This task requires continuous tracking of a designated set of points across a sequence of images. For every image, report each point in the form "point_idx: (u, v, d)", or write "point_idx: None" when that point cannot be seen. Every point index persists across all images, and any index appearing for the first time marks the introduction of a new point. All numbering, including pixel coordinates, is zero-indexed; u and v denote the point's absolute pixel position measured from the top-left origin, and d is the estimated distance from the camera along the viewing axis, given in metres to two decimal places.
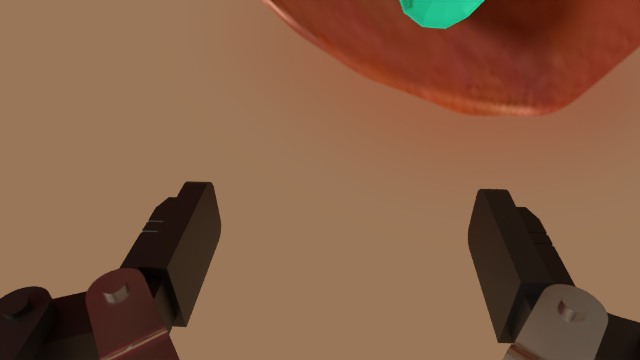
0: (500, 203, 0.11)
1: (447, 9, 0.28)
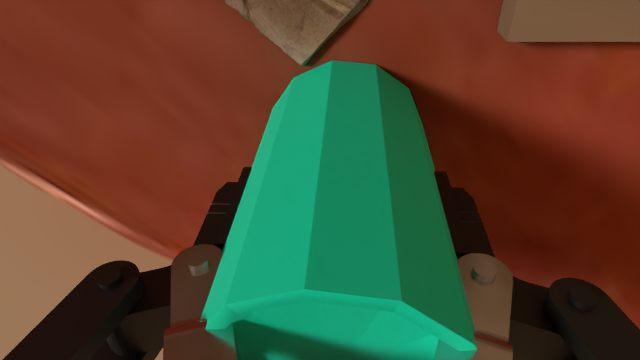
0: None
1: None
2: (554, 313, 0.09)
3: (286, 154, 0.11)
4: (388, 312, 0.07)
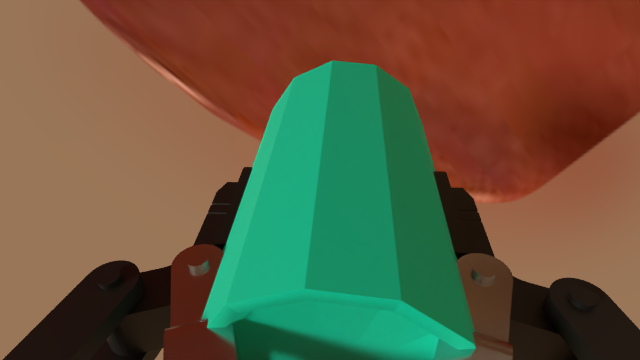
0: (436, 183, 0.12)
1: None
2: (554, 313, 0.09)
3: (286, 154, 0.11)
4: (388, 311, 0.07)
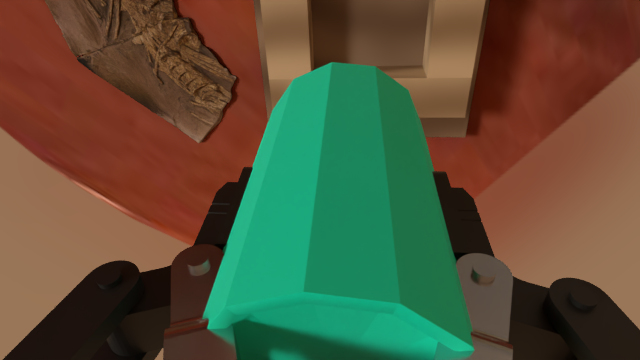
0: (436, 183, 0.12)
1: None
2: (554, 313, 0.09)
3: (285, 156, 0.11)
4: (387, 314, 0.07)
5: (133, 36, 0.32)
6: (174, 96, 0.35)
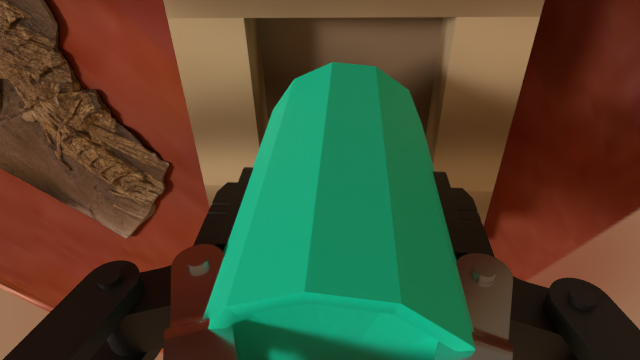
0: (436, 183, 0.12)
1: None
2: (554, 313, 0.09)
3: (286, 156, 0.11)
4: (388, 314, 0.08)
5: (22, 111, 0.23)
6: (88, 184, 0.26)
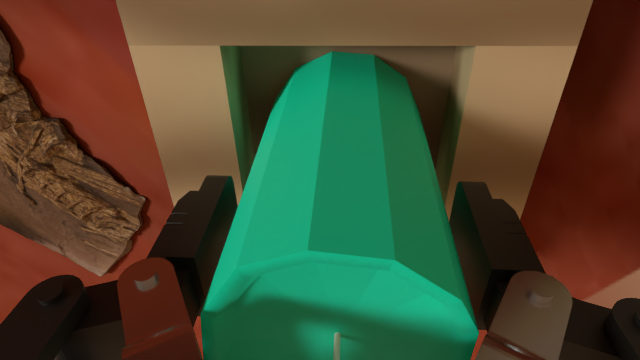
0: (477, 194, 0.12)
1: None
2: (615, 331, 0.08)
3: (288, 137, 0.12)
4: (384, 273, 0.08)
5: None
6: (56, 220, 0.23)
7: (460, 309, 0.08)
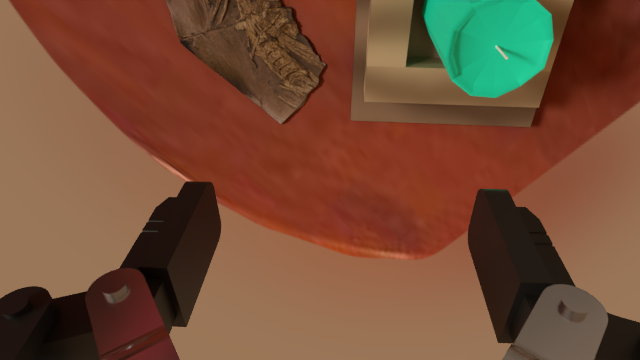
0: (500, 203, 0.11)
1: (498, 78, 0.25)
2: None
3: None
4: (522, 9, 0.23)
5: (237, 22, 0.35)
6: (265, 79, 0.38)
7: (550, 20, 0.23)
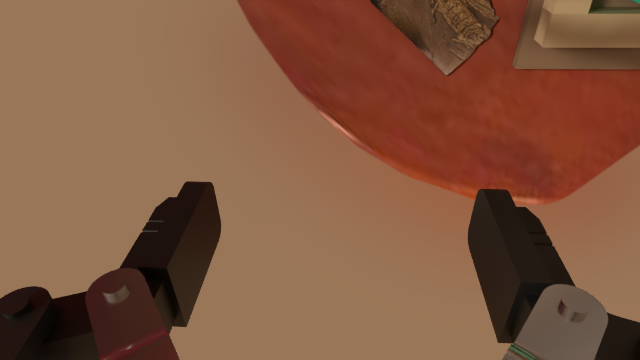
0: (500, 203, 0.11)
1: None
2: None
3: None
4: None
5: None
6: (440, 34, 0.43)
7: None
